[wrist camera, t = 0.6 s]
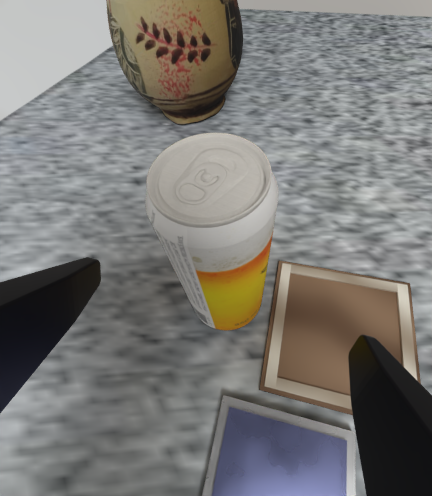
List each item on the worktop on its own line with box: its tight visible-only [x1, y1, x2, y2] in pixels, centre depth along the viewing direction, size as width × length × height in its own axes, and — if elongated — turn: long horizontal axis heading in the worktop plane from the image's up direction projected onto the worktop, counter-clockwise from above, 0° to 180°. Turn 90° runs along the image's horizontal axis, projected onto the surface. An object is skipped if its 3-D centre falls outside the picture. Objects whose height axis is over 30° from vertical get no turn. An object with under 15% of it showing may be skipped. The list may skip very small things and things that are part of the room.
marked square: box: [259, 261, 421, 415], centre depth 22 cm, size 11×11×1 cm
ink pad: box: [202, 395, 355, 496], centre depth 17 cm, size 9×9×1 cm
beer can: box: [145, 133, 279, 330], centre depth 18 cm, size 6×6×15 cm
